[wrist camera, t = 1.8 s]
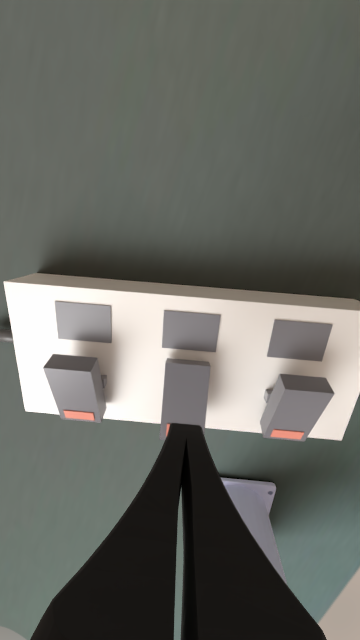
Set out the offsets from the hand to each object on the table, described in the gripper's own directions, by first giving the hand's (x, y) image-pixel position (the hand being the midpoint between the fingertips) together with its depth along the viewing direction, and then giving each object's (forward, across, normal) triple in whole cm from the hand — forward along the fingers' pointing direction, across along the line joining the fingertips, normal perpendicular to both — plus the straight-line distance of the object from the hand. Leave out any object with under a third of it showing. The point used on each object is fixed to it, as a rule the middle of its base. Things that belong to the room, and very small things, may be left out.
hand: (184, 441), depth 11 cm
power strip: (+10, +2, 0) cm, 10 cm away
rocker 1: (+5, +7, +2) cm, 9 cm away
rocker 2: (+5, 0, +2) cm, 5 cm away
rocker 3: (+5, -7, +2) cm, 9 cm away
